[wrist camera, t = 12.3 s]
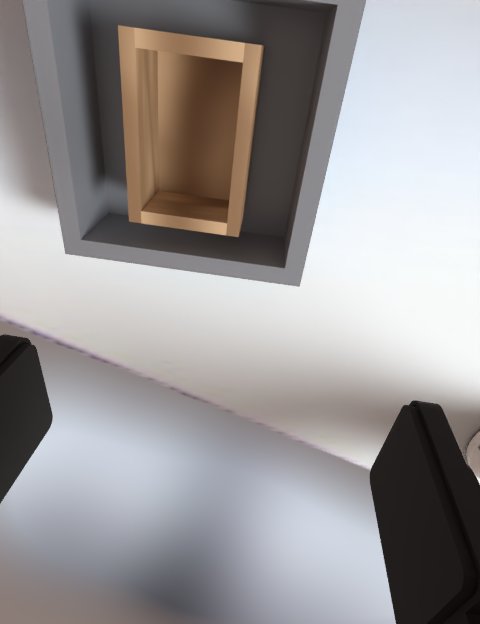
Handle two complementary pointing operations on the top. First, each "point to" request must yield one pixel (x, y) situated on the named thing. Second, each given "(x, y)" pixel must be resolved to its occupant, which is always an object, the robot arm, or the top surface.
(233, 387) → the top surface
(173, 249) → the grey open box
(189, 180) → the box
